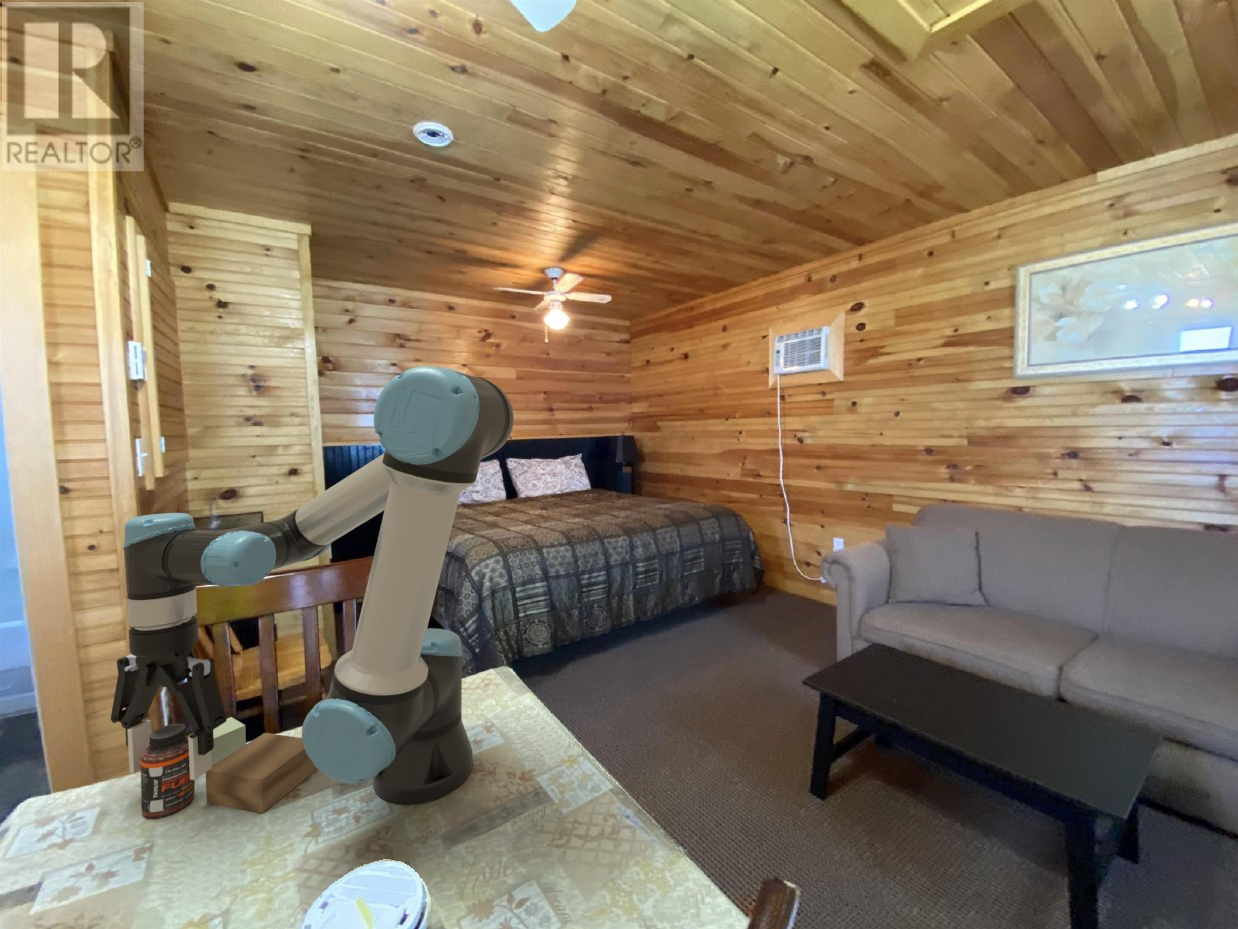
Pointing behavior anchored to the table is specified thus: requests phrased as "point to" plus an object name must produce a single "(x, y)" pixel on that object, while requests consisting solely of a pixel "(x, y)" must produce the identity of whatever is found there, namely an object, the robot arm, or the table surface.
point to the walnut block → (259, 773)
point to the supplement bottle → (166, 772)
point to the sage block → (227, 739)
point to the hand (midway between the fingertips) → (171, 770)
